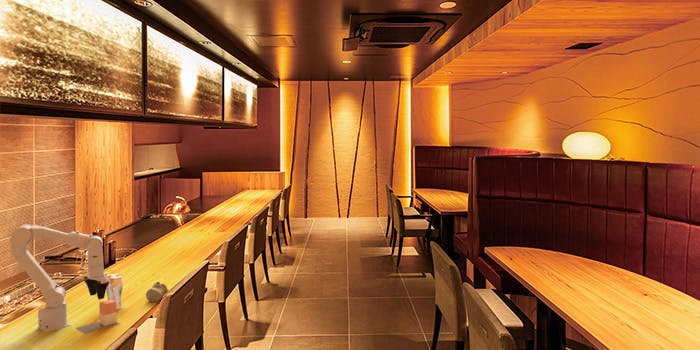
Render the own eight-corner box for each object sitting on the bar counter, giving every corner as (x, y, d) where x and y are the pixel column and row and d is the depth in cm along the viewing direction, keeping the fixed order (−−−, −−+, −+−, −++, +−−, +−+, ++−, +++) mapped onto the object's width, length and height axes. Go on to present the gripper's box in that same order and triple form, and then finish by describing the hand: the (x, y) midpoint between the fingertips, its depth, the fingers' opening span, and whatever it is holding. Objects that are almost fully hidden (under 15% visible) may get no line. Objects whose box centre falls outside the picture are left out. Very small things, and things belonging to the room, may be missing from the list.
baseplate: (84, 335, 182) (84, 334, 182) (75, 329, 187) (75, 328, 187) (120, 324, 192) (120, 323, 192) (111, 319, 198) (111, 318, 198)
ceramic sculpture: (139, 284, 218) (156, 277, 233) (139, 303, 218) (155, 294, 233) (161, 286, 217) (176, 278, 232) (160, 304, 217) (176, 296, 232)
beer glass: (107, 306, 213) (106, 274, 212) (123, 304, 216) (123, 273, 215) (105, 311, 207) (104, 278, 206) (122, 309, 209) (121, 277, 208)
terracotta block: (103, 315, 189) (103, 304, 189) (99, 313, 192) (99, 302, 191) (116, 312, 193) (116, 301, 193) (112, 309, 196) (111, 299, 195)
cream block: (104, 326, 190) (104, 315, 189) (100, 323, 192) (100, 313, 192) (116, 322, 194) (116, 312, 193) (112, 320, 196) (112, 309, 196)
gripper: (113, 266, 193) (114, 298, 194) (98, 260, 202) (99, 291, 203) (95, 269, 187) (96, 302, 188) (80, 263, 197) (82, 295, 197)
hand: (97, 296), depth 195 cm, fingers open, 7 cm apart
